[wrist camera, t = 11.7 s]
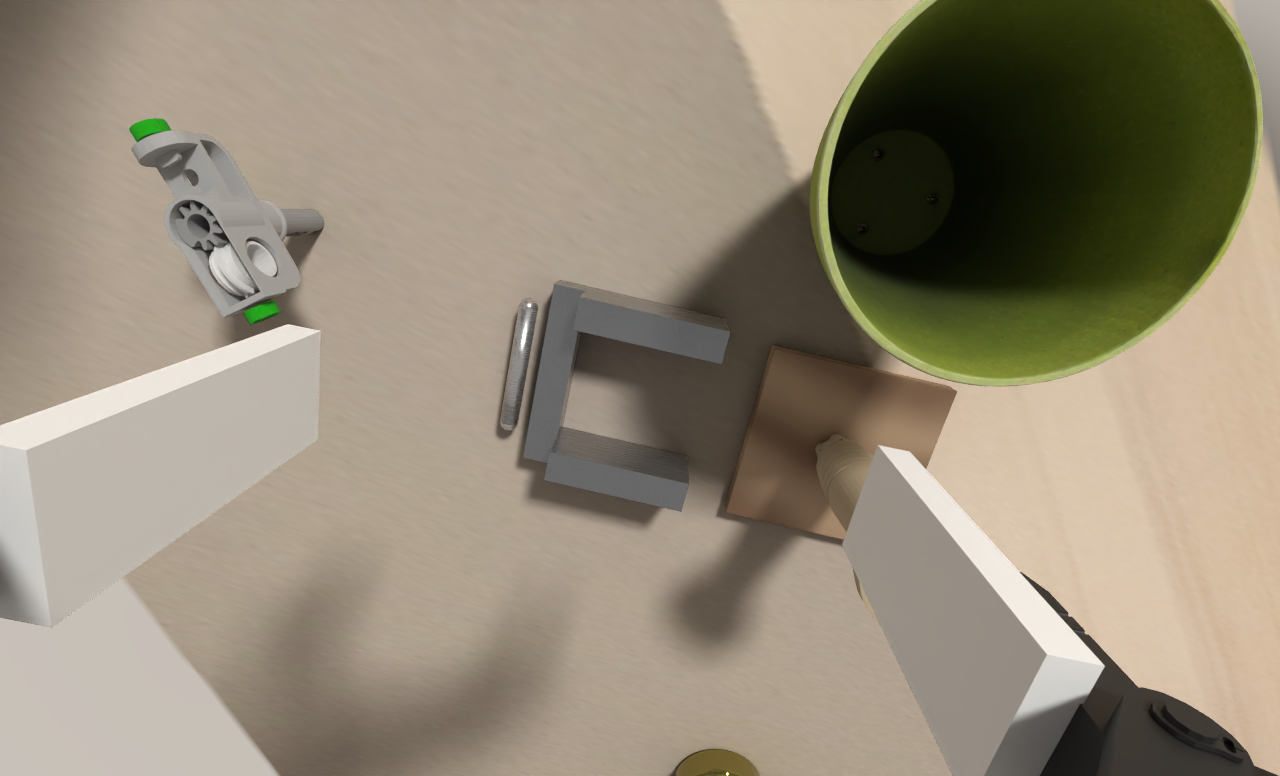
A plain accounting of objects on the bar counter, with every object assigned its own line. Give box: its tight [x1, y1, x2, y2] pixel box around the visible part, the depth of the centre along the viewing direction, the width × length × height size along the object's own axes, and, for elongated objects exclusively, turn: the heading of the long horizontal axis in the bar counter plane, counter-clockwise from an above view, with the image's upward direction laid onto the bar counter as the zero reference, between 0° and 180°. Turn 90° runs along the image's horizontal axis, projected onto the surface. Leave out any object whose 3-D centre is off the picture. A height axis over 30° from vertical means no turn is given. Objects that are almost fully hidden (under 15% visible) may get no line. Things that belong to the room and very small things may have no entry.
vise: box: [500, 280, 730, 512], centre depth 39 cm, size 12×13×4 cm
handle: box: [815, 434, 881, 626], centre depth 33 cm, size 5×6×15 cm
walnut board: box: [725, 345, 957, 540], centre depth 41 cm, size 12×12×1 cm
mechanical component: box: [130, 119, 324, 325], centre depth 34 cm, size 3×10×10 cm, turn 24°
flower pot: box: [810, 0, 1263, 386], centre depth 29 cm, size 15×15×16 cm
